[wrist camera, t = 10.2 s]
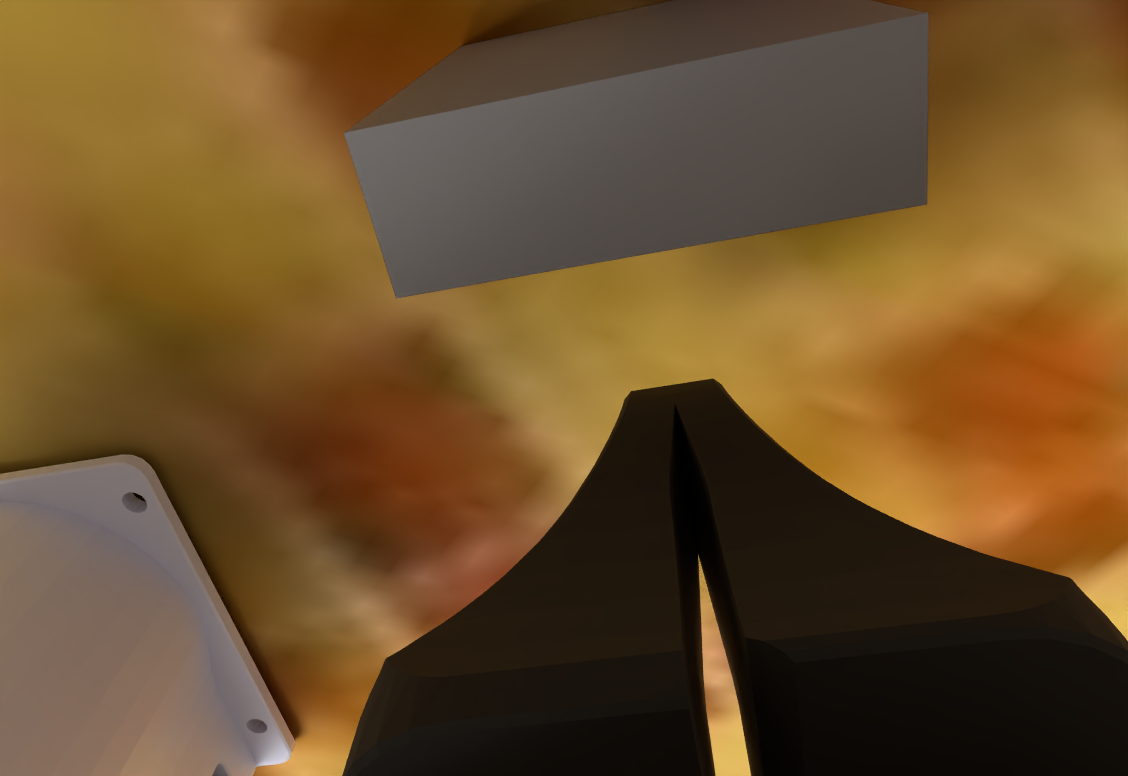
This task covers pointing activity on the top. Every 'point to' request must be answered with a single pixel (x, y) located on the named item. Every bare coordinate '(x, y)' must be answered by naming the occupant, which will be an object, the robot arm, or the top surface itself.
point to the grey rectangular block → (645, 136)
